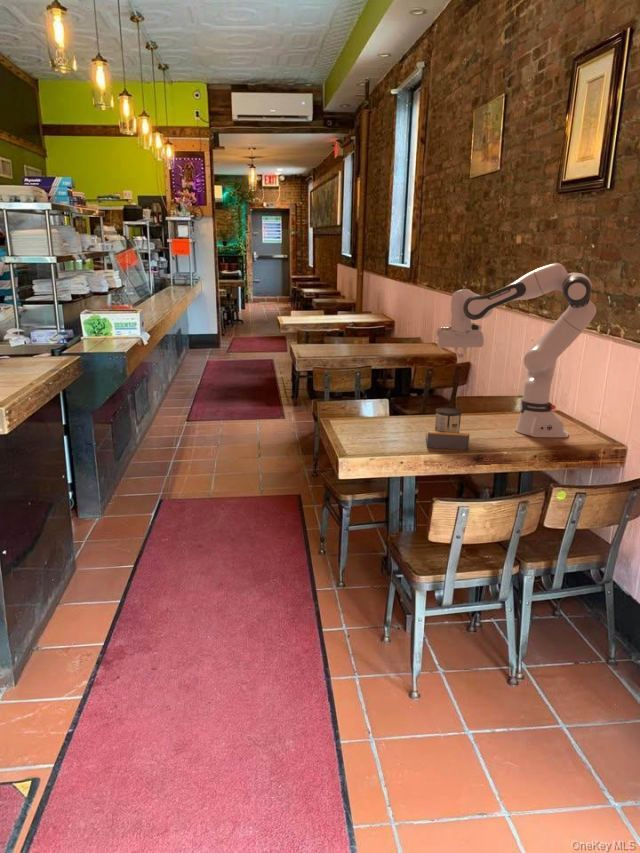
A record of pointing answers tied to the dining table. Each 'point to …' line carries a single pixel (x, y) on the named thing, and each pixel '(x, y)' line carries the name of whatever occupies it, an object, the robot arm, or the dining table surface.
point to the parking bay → (447, 440)
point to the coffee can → (447, 420)
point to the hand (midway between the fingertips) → (460, 357)
